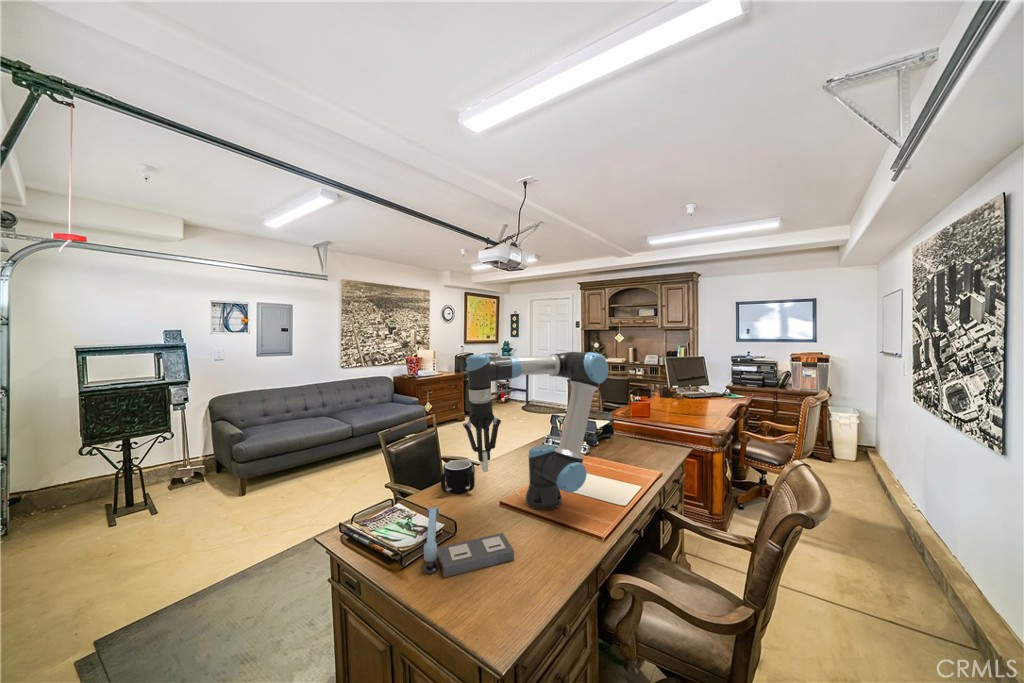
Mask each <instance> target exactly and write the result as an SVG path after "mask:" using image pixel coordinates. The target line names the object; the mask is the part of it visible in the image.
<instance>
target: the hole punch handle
mask: <svg viewBox="0 0 1024 683" xmlns="http://www.w3.org/2000/svg"><path fill="white" fill-rule="evenodd" d="M426 513H427V514H426V515H427V518H428V522H427V523H428V525H427V533H426V534H427V535H426V543H424V544H423V560H424V561H425V562H426V561H427V562H431V561H434V560H436V561H437V559H438V543H437V542H436V536H437V535H436V532H437V518H438V517H439V513H440V512H439V506H434V507H428V508H427V509H426Z"/></svg>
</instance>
